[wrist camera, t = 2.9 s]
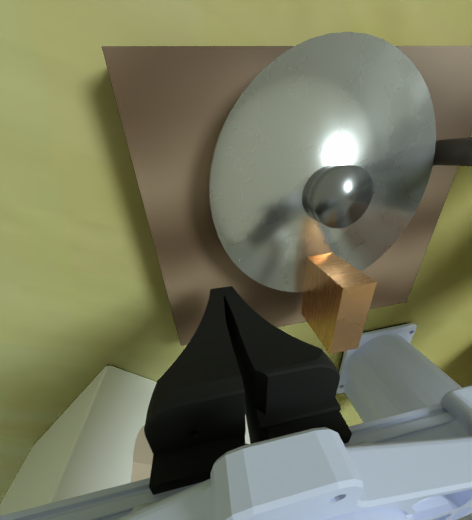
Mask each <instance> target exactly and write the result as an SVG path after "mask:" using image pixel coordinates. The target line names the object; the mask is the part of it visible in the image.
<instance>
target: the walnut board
mask: <svg viewBox="0 0 472 520" xmlns="http://www.w3.org/2000/svg"><path fill="white" fill-rule="evenodd" d="M292 47H294V46H102V50H103V54H104V57H105V61H106V65H107V69H108V72H109V76H110V80H111V84H112V88H113V91H114V95H115V99H116V103H117V106H118V110H119V114H120V118H121V121H122V125H123V129H124V133H125V137H126V140H127V144H128V148H129V152H130V155H131V159H132V163H133V167H134V170H135V174H136V178H137V182H138V186H139V189H140V193H141V197H142V201H143V204H144V208H145V212H146V216H147V219H148V223H149V227H150V231H151V235H152V238H153V242H154V246H155V250H156V253H157V257H158V261H159V265H160V268H161V272H162V276H163V280H164V283H165V287H166V291H167V295H168V299H169V302H170V306H171V310H172V314H173V317H174V321H175V325H176V329H177V332H178V336H179V340H180V344H181V345H187V344H188V343H189V342H190V340H191V338H192V337H193V335H194V333H195V332H196V330H197V328H198V326H199V324H200V322H201V320H202V317H203V315H204V312H205V310H206V307H207V304H208V300H209V295H210V290H211V289H214V288H221V287H229V286H232V287H233V288H234V289H235V290H236V292H237V293H238V294H239V295H240V296H241V297H242V299H243V300H244V301H245V302H246V303H247V304H248V305H249V306H250V307H251V308H252V309H253V310H254V311H255V312H257V313H258V314H259V315H260V316H261V317H262V318H264V319H265V320H266V321H268V322H269V323H270V324H272V325H273V326H275V327H280V326H285V325H290V324H296V323H301V322H306V320H305V318H304V317H303V315H302V314H301V308H302V298H303V292H287V291H280V290H277V289H273V288H270V287H267V286H265V285H262V284H260V283H258V282H257V281H255V280H253V279H252V278H250V277H249V276H247V275H246V274H245V273H244V272H242V271H241V270H240V269H239V268H238V267H237V265H236V264H235V263H234V262H233V261H232V260H231V258H230V257H229V255H228V254H227V252H226V251H225V249H224V247H223V245H222V243H221V241H220V239H219V237H218V234H217V231H216V228H215V225H214V222H213V219H212V214H211V209H210V203H209V173H210V166H211V161H212V155H213V151H214V148H215V145H216V142H217V139H218V135H219V133H220V131H221V129H222V126H223V124H224V122H225V120H226V118H227V116H228V114H229V113H230V111H231V109H232V108H233V106H234V105H235V103H236V101H237V100H238V98H239V97H240V96H241V94H242V93H243V92H244V90H245V89H246V88H247V87H248V86H249V84H250V83H251V82H252V81H253V80H254V78H255V77H256V76H257V75H258V74H259V73H260V72H261V71H262V70H263V69H264V68H265V67H267V66H268V65H269V64H270V63H271V62H272V61H273V60H275V59H276V58H277V57H279V56H280V55H282V54H283V53H285V52H286V51H288V50H289V49H290V48H292ZM395 47H397V48H398V49H399V50H401V51H402V52H403V53H404V54H405V55H406V56H407V57H408V58H409V59H410V60H411V61H412V62H413V64H414V65H415V66H416V68H417V69H418V70H419V72H420V73H421V75H422V77H423V79H424V81H425V83H426V85H427V87H428V91H429V94H430V97H431V100H432V103H433V109H434V115H435V124H436V143H435V154H434V160H433V166H432V170H431V174H430V177H429V181H428V184H427V187H426V189H425V192H424V195H423V197H422V200H421V202H420V204H419V206H418V208H417V210H416V212H415V214H414V215H413V217H412V219H411V220H410V222H409V224H408V225H407V227H406V228H405V229H404V231H403V232H402V234H401V235H400V236H399V238H398V239H397V240H396V241H395V242H394V244H393V245H392V246H391V247H390V248H389V249H388V250H387V251H386V252H385V253H384V254H383V255H382V256H381V257H380V258H379V259H378V260H376V261H375V262H374V263H373V264H372V265H370V266H369V267H368V268H366V269H365V270H363V271H362V273H364V274H365V275H367V276H368V277H370V278H371V279H373V280H374V281H376V282H377V284H376V287H375V291H374V294H373V298H372V301H371V305H370V308H369V309H374V308H379V307H384V306H389V305H394V304H399V303H405V302H407V299H408V297H409V294H410V292H411V289H412V286H413V284H414V281H415V279H416V276H417V273H418V271H419V268H420V265H421V263H422V260H423V258H424V255H425V252H426V250H427V247H428V245H429V242H430V239H431V237H432V234H433V232H434V229H435V226H436V224H437V221H438V218H439V216H440V213H441V211H442V208H443V205H444V203H445V200H446V198H447V195H448V192H449V190H450V187H451V184H452V182H453V179H454V177H455V174H456V171H457V169H458V166H472V137H470V135H471V132H472V46H395Z"/></svg>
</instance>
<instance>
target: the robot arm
mask: <svg viewBox="0 0 472 520" xmlns="http://www.w3.org/2000/svg"><path fill="white" fill-rule="evenodd" d="M416 328H417V326H416V325H415V324H414V323H408V324H404V325H399V326H394V327H389V328H385V329H380V330H375V331H370V332H365V333H362V336H361V340H360V343H359V347H358V348H357V349H352V350H348V351H344V355H343V359H342V363H341V367H340V371H339V372H338V370H337V369H336V367H335V366H334V364H333V363H332V361H331V360H330V359H329V357H328V356H327V355H326V354H325V353H324V352H323V350H322V349H320V348H318V347H315V346H313V345H310V344H308V343H305V342H303V341H301V340H299V339H297V338H295V337H292V336H290V335H289V334H287V333H285V332H283V331H282V330H280V329H278V328H277V327H275V326H273V325H272V324H270V323H269V322H268V321H266V320H265V319H264V318H262V317H261V316H260V315H259V314H258V313H257V312H255V311H254V310H253V309H252V308H251V307H250V306H249V305H248V304H247V303H246V302H245V301H244V300H243V299H242V297H241V296H240V295H239V294H238V293H237V292H236V290H235V289H234V288H233V287H232V286H229V287H221V288H214V289H211V290H210V295H209V300H208V304H207V307H206V310H205V312H204V315H203V317H202V320H201V322H200V324H199V326H198V328H197V330H196V332H195V333H194V335H193V337H192V338H191V340H190V342H189V343H188V345H187V346H186V348H185V349H184V350H183V352H182V353H181V354H180V356H179V357H178V358H177V360H176V361H175V362H174V363H173V365H172V366H171V367H170V368H169V369H168V370H167V371H166V372H165V373H164V374H163V376H162V377H161V378H160V379H159V380H158V381H157V383H156V386H155V388H154V391H153V394H152V396H151V400H150V403H149V406H148V410H147V416H146V421H145V427H144V433H145V437H146V439H147V441H148V444H149V446H150V448H151V450H152V453H153V461H152V468H151V475H150V478H147V479H143V480H139V481H135V482H131V483H127V484H123V485H119V486H116V487H112V488H108V489H104V490H100V491H96V492H92V493H88V494H84V495H80V496H77V497H73V498H69V499H65V500H61V501H57V502H53V503H49V504H45V505H41V506H37V507H34V508H30V509H26V510H22V511H18V512H14V513H10V514H6V515H2V516H0V520H472V385H470V386H466V387H461V386H460V385H459V384H457V383H456V382H455V381H454V380H453V379H452V378H450V377H449V376H448V375H447V374H446V373H444V372H443V371H442V370H441V369H440V368H439V367H437V366H436V365H435V364H434V363H433V362H432V361H430V360H429V359H428V358H427V357H426V356H424V355H423V354H422V353H421V352H420V351H419V350H417V349H416V348H415V347H414V346H413V345H411V344H410V342H411V339H412V337H413V335H414V333H415V330H416ZM336 393H337V394H340V393H345V394H346V396H347V398H348V399H349V401H350V402H351V404H352V405H353V407H354V408H355V410H356V411H357V413H358V415H359V416H360V418H361V419H362V421H363V422H364V423H361V424H358V425H354V426H350V427H348V425H347V424H346V422H345V420H344V419H343V417H342V415H341V413H340V412H339V411H340V409H341V408H340V405H339V403H338V402H337V400H336V398H335V395H336ZM245 414H246V420H247V426H248V432H249V438H250V444H249V445H245V433H246V424H245Z"/></svg>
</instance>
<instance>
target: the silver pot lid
mask: <svg viewBox="0 0 472 520" xmlns="http://www.w3.org/2000/svg"><path fill="white" fill-rule="evenodd" d="M435 143H436V124H435V115H434V109H433V103H432V100H431V97H430V94H429V91H428V87H427V85H426V83H425V81H424V79H423V77H422V75H421V73H420V72H419V70H418V69H417V68H416V66H415V65H414V64H413V62H412V61H411V60H410V59H409V58H408V57H407V56H406V55H405V54H404V53H403V52H402V51H401V50H399V49H398V48H397V47H395V46H394V45H392V44H390V43H388V42H387V41H385V40H383V39H381V38H378V37H374V36H371V35H368V34H363V33H354V32H341V33H330V34H326V35H323V36H319V37H315V38H312V39H309V40H307V41H305V42H303V43H301V44H299V45H297V46H294V47H292V48H290V49H289V50H288V51H286V52H285V53H283V54H282V55H280V56H279V57H277V58H276V59H275V60H273V61H272V62H271V63H270V64H269V65H268V66H267V67H265V68H264V69H263V70H262V71H261V72H260V73H259V74H258V75H257V76H256V77H255V78H254V80H253V81H252V82H251V83H250V84H249V86H248V87H247V88H246V89H245V90H244V92H243V93H242V94H241V96H240V97H239V98H238V100H237V101H236V103H235V105H234V106H233V108H232V109H231V111H230V113H229V114H228V116H227V118H226V120H225V122H224V124H223V126H222V129H221V131H220V133H219V135H218V139H217V142H216V145H215V148H214V151H213V155H212V161H211V166H210V173H209V203H210V209H211V214H212V219H213V222H214V225H215V228H216V231H217V234H218V237H219V239H220V241H221V243H222V245H223V247H224V249H225V251H226V252H227V254H228V255H229V257H230V258H231V260H232V261H233V262H234V263H235V264H236V265H237V267H238V268H239V269H240V270H241V271H242V272H244V273H245V274H246V275H247V276H249V277H250V278H252V279H253V280H255V281H257V282H258V283H260V284H262V285H265V286H267V287H270V288H273V289H277V290H280V291H287V292H303V298H302V308H301V314H302V315H303V317H304V318H305V320H306V321H307V322H308V324H309V325H310V327H311V328H312V330H313V331H314V332H315V334H316V335H317V337H318V338H319V340H320V341H321V342H322V344H323V345H324V347H325V348H326V350H327V351H328V352H329V354H334V353H339V352H343V351H348V350H352V349H357V348H358V347H359V343H360V340H361V336H362V333H363V329H364V326H365V322H366V319H367V315H368V312H369V308H370V305H371V301H372V298H373V294H374V291H375V287H376V284H377V282H376V281H374V280H373V279H371V278H370V277H368V276H367V275H365V274H364V273H362V271H363V270H365V269H366V268H368V267H369V266H370V265H372V264H373V263H374V262H375V261H376V260H378V259H379V258H380V257H381V256H382V255H383V254H384V253H385V252H386V251H387V250H388V249H389V248H390V247H391V246H392V245H393V244H394V242H395V241H396V240H397V239H398V238H399V236H400V235H401V234H402V232H403V231H404V229H405V228H406V227H407V225H408V224H409V222H410V220H411V219H412V217H413V215H414V214H415V212H416V210H417V208H418V206H419V204H420V202H421V200H422V197H423V195H424V192H425V189H426V187H427V184H428V181H429V177H430V174H431V170H432V166H433V160H434V154H435Z"/></svg>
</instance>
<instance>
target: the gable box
mask: <svg viewBox="0 0 472 520" xmlns="http://www.w3.org/2000/svg"><path fill="white" fill-rule="evenodd" d="M156 383H157V382H156V381H153V380H150V379H147V378H144V377H142V376H139V375H136V374H133V373H130V372H127V371H125V370H122V369H119V368H116V367H113V366H111V365H108V366H106V367H105V368H104V369H103V370H102V371H101V372H100V373H99V374H98V375H97V376H96V378H95V379H94V380H93V381H92V382H91V383H90V384H89V385H88V386H87V387H86V389H85V390H84V391H83V392H82V393H81V394H80V395H79V396H78V397H77V398H76V399H75V401H74V402H73V403H72V404H71V405H70V406H69V407H68V408H67V409H66V410H65V412H64V413H63V414H62V415H61V416H60V417H59V418H58V419H57V420H56V421H55V423H54V424H53V425H52V426H51V427H50V428H49V429H48V430H47V431H46V432H45V434H44V435H43V436H42V437H41V438H40V439H39V440H38V441H37V442H36V443H35V445H34V446H33V447H32V449H31V451H30V453H29V454H28V456H27V458H26V460H25V461H24V463H23V465H22V467H21V469H20V470H19V472H18V474H17V476H16V477H15V479H14V481H13V483H12V485H11V486H10V488H9V490H8V492H7V493H6V495H5V497H4V499H3V501H2V502H1V504H0V516H2V515H6V514H10V513H14V512H18V511H22V510H26V509H30V508H34V507H37V506H41V505H45V504H49V503H53V502H57V501H61V500H65V499H69V498H73V497H77V496H80V495H84V494H88V493H92V492H96V491H100V490H104V489H108V488H112V487H116V486H119V485H123V484H127V483H131V482H135V481H139V480H143V479H147V478H150V475H151V468H152V461H153V453H152V450H151V448H150V446H149V444H148V441H147V439H146V437H145V433H144V427H145V421H146V416H147V410H148V406H149V403H150V400H151V396H152V394H153V391H154V388H155V386H156ZM245 424H246V433H245V445H249V444H250V438H249V432H248V426H247V420H246V414H245Z"/></svg>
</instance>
